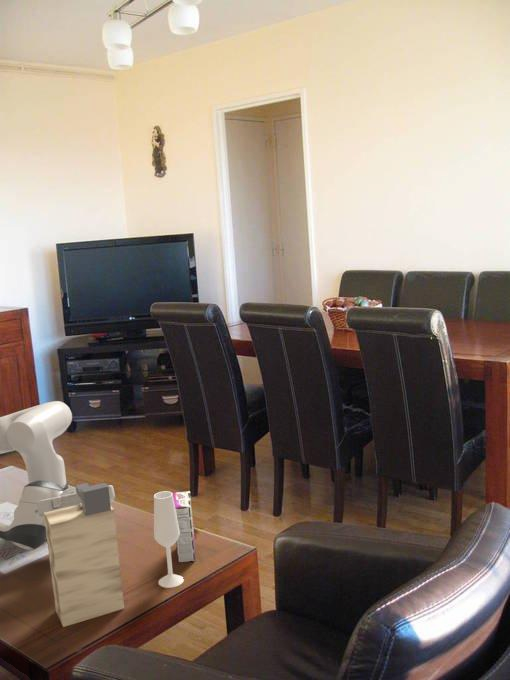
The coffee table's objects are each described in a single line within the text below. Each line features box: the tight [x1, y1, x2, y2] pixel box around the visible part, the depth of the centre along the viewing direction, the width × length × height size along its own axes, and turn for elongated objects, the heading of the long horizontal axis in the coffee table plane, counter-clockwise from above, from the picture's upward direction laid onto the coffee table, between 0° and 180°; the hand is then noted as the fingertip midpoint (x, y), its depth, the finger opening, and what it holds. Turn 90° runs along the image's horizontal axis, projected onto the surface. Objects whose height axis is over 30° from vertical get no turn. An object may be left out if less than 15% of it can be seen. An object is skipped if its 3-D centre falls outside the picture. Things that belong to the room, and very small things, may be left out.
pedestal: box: [44, 502, 125, 628], centre depth 180 cm, size 8×15×27 cm, turn 117°
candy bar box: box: [173, 490, 196, 563], centre depth 207 cm, size 11×5×16 cm, turn 5°
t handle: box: [75, 482, 112, 516], centre depth 182 cm, size 16×6×6 cm, turn 27°
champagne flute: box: [153, 490, 185, 589], centre depth 192 cm, size 7×7×24 cm
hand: (80, 495), depth 191 cm, fingers open, 8 cm apart
